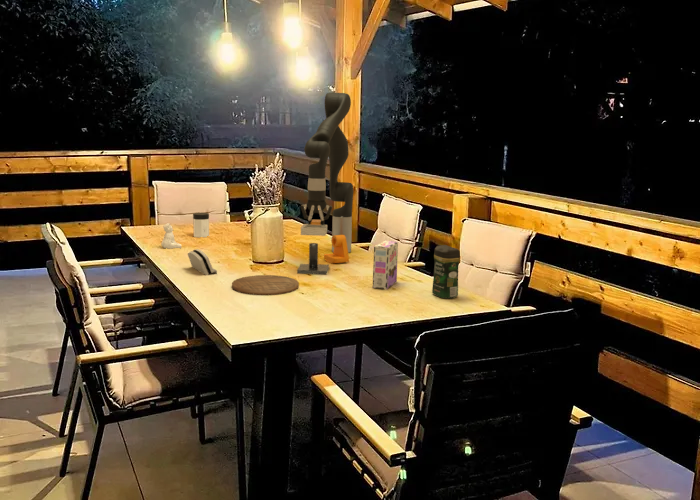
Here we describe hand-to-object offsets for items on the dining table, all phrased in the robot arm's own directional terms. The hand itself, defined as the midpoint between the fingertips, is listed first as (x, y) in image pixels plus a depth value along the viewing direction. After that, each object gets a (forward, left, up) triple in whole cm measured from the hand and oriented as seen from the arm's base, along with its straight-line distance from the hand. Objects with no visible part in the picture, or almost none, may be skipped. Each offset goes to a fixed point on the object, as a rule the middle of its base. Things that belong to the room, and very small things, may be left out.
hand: (316, 229), depth 288 cm
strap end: (+5, 0, 0) cm, 5 cm away
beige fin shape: (+15, -46, -17) cm, 51 cm away
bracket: (-12, +8, -17) cm, 22 cm away
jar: (-64, -67, -17) cm, 94 cm away
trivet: (+37, -15, -17) cm, 44 cm away
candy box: (+28, +30, -17) cm, 44 cm away
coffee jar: (+41, +52, -17) cm, 69 cm away
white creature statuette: (-31, -73, -17) cm, 81 cm away
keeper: (+8, 0, -16) cm, 18 cm away
